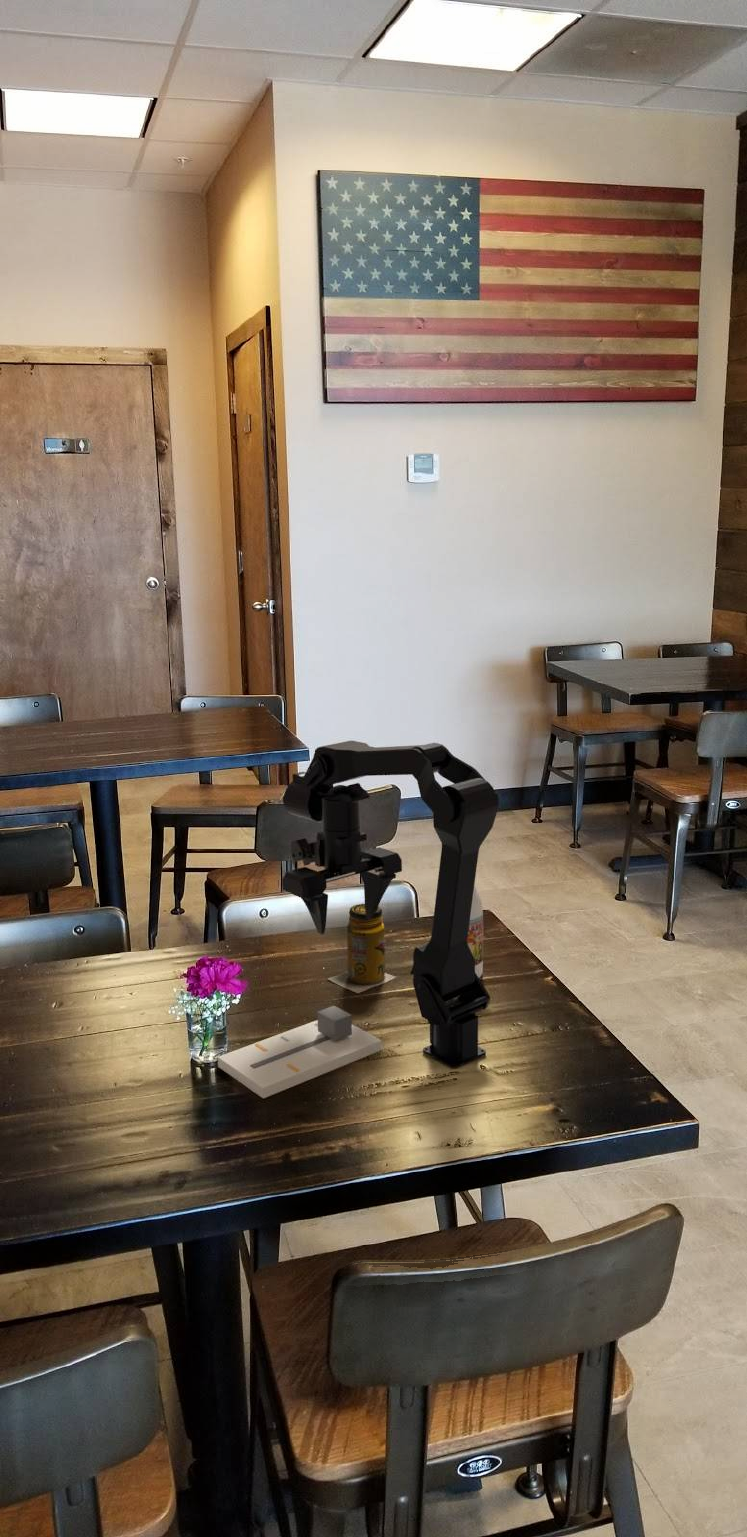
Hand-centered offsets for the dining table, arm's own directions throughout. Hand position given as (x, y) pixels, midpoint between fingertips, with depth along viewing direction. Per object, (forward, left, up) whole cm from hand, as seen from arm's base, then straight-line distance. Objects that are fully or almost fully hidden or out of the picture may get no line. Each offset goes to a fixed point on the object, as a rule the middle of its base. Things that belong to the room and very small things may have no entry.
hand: (345, 926), depth 171 cm
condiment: (+5, -7, -13) cm, 16 cm away
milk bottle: (-4, -20, -13) cm, 24 cm away
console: (-10, +16, -13) cm, 22 cm away
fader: (-10, +10, -11) cm, 17 cm away
